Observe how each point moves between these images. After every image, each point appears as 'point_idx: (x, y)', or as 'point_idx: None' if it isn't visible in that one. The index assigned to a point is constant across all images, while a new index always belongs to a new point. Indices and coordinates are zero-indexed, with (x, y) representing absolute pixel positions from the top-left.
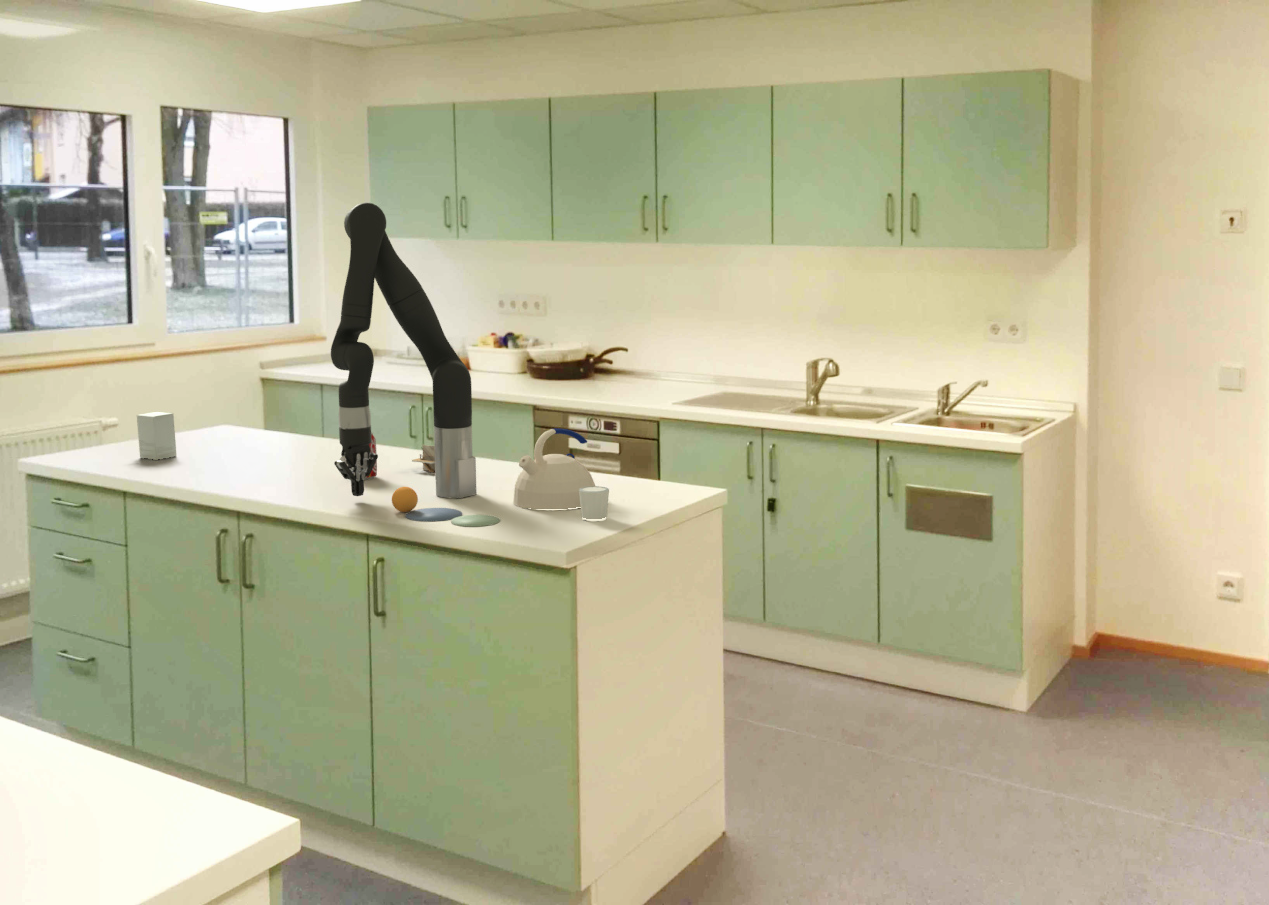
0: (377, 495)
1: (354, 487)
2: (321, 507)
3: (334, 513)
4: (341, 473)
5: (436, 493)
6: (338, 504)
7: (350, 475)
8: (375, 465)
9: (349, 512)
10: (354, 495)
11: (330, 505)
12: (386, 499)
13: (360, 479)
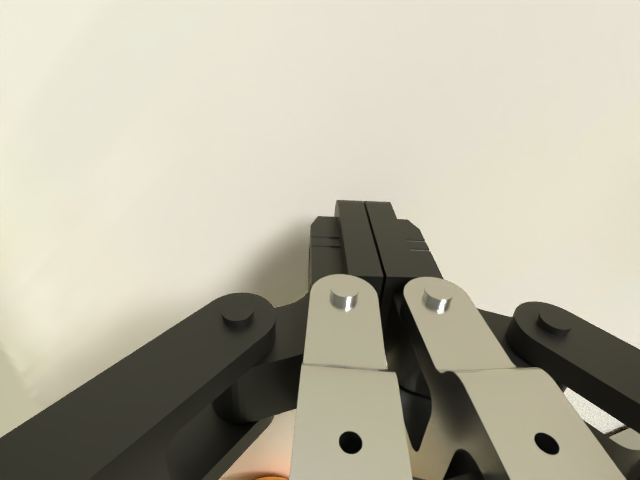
0: (590, 190)
1: (309, 285)
2: (24, 92)
3: (6, 294)
4: (116, 374)
5: (620, 443)
6: (196, 141)
7: (192, 440)
8: None
9: (95, 340)
10: (335, 214)
11: (128, 108)
12: (478, 306)
13: (388, 352)
